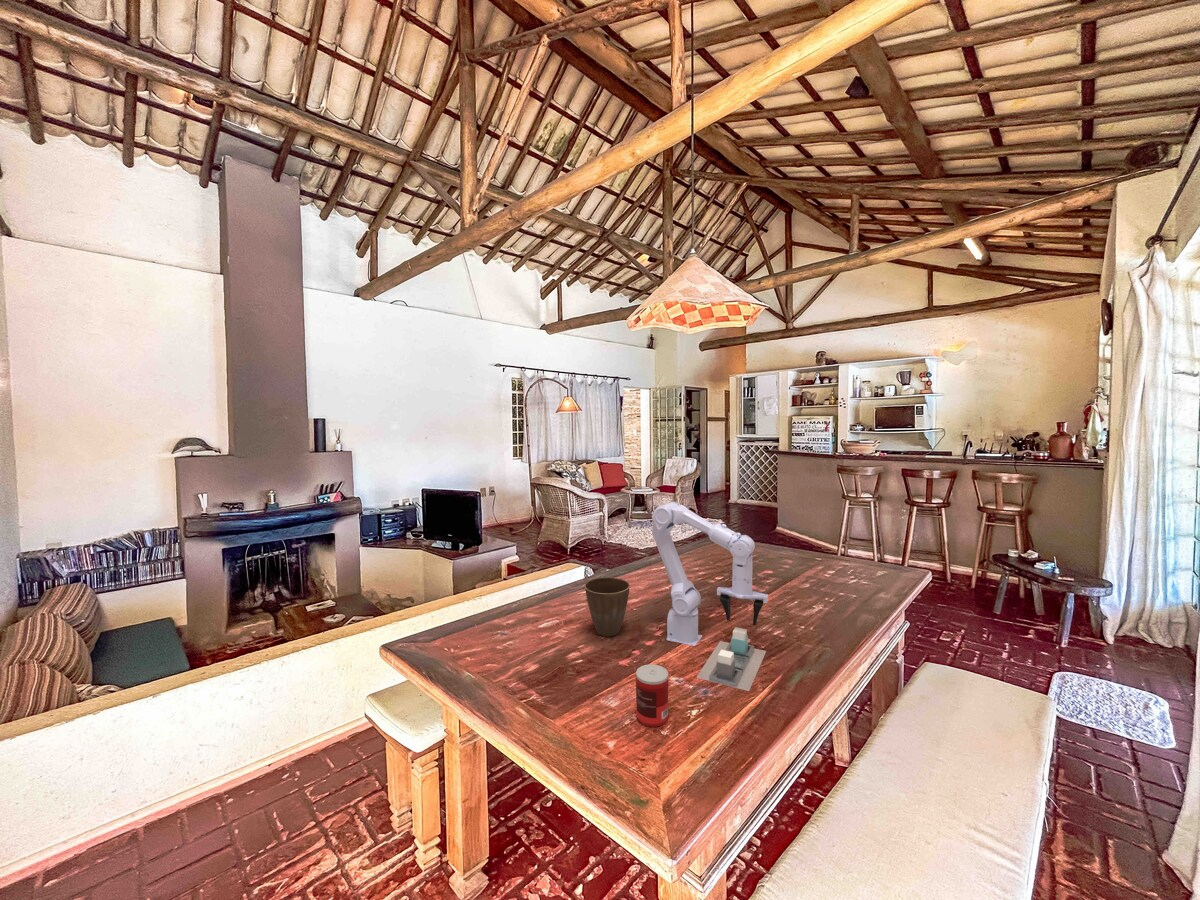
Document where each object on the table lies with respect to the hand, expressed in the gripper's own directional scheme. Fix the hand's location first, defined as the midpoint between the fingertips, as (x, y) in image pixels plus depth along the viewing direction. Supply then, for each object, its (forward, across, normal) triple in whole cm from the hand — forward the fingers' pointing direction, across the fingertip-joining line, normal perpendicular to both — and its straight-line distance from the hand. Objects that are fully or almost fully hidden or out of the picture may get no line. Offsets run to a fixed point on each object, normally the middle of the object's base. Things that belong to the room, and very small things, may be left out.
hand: (741, 621), depth 143 cm
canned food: (+10, -13, -40) cm, 44 cm away
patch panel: (+10, -1, -8) cm, 13 cm away
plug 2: (+9, 0, 0) cm, 9 cm away
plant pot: (+10, -43, -4) cm, 44 cm away
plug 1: (+9, -1, -16) cm, 19 cm away
